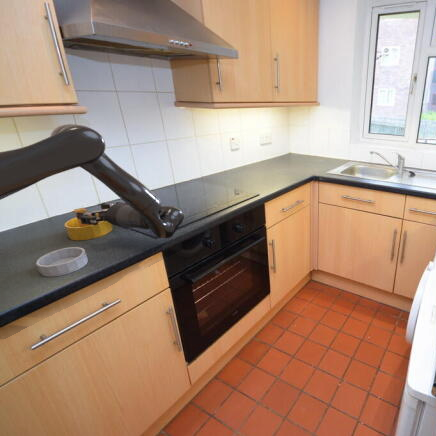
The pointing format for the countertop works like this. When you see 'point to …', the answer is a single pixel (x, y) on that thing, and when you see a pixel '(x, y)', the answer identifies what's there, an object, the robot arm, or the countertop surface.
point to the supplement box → (79, 219)
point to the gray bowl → (62, 261)
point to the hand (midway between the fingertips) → (90, 210)
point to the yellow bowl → (87, 229)
